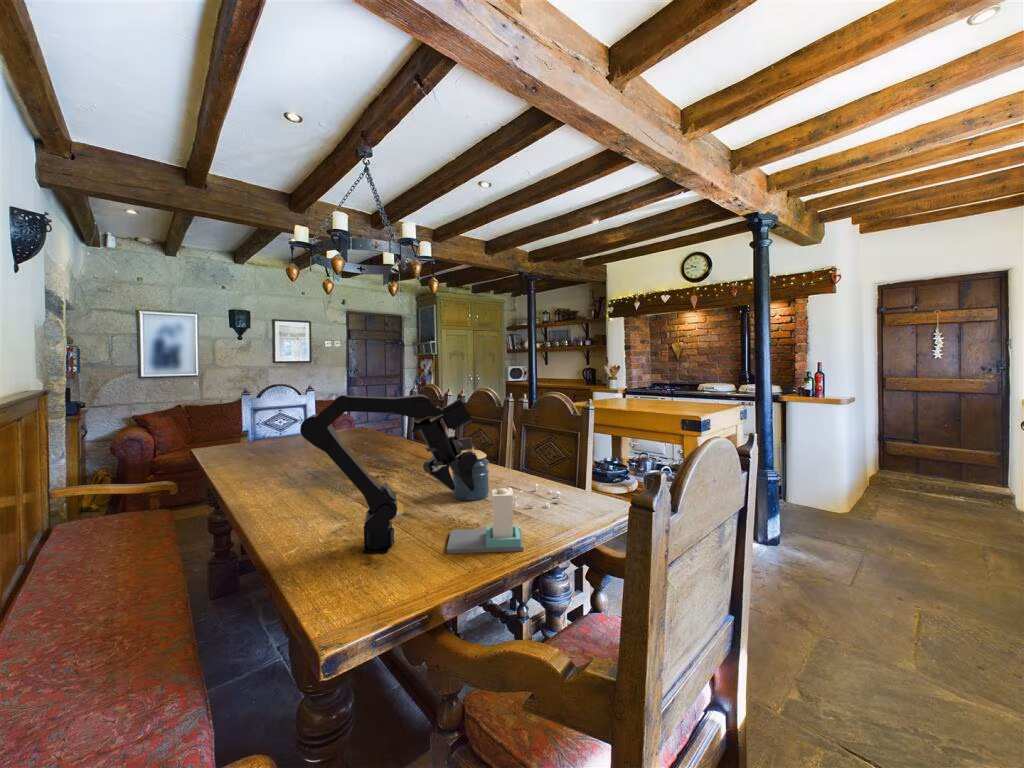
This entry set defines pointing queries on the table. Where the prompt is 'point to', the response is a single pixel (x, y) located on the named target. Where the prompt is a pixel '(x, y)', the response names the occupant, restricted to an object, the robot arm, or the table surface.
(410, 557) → the table surface
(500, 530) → the column
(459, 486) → the canister
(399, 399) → the robot arm
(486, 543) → the baseplate
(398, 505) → the bread roll
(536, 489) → the game piece set
